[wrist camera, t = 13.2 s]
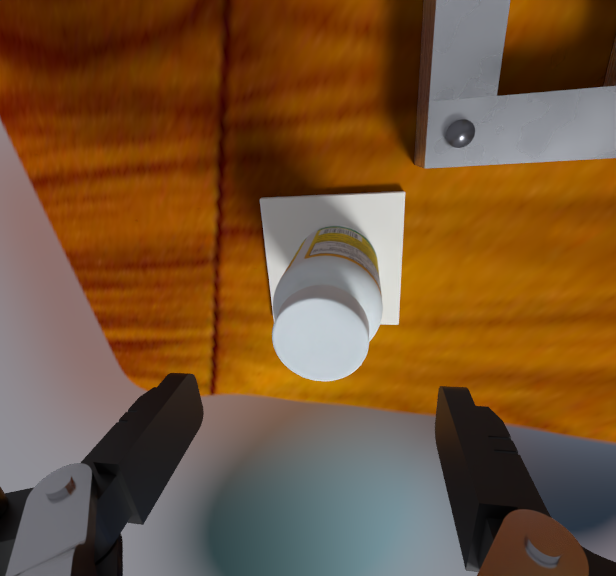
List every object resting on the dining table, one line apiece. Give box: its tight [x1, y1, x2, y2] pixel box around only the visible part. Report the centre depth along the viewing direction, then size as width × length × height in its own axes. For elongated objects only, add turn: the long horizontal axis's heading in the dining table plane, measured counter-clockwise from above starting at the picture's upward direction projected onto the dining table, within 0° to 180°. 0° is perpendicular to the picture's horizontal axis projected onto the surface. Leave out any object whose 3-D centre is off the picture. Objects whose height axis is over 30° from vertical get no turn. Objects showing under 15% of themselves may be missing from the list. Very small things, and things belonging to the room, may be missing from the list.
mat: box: [260, 191, 405, 325], centre depth 22 cm, size 9×9×1 cm
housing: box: [414, 0, 616, 168], centre depth 14 cm, size 12×12×4 cm
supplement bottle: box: [272, 225, 383, 381], centre depth 18 cm, size 5×5×10 cm
